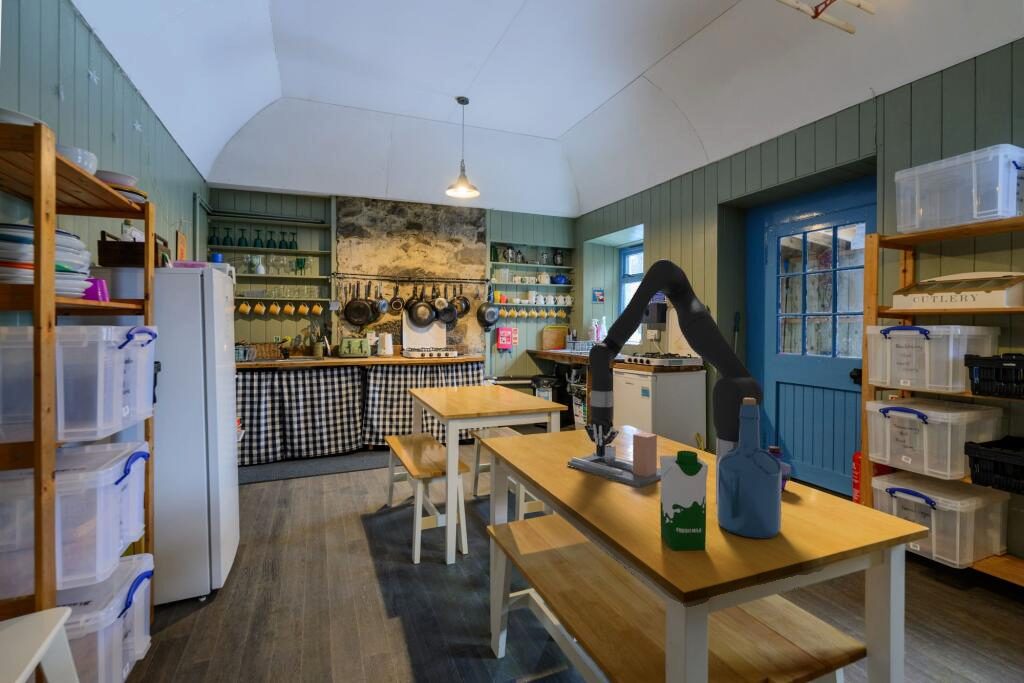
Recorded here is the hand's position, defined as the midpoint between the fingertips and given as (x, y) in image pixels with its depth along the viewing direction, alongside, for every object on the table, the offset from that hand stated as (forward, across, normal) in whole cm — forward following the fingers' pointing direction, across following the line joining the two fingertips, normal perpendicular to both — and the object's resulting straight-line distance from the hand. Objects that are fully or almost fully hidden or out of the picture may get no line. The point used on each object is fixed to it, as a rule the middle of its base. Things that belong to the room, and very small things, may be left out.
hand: (600, 455), depth 159 cm
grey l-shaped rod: (+2, -9, 0) cm, 9 cm away
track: (+3, -6, 0) cm, 7 cm away
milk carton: (+3, -47, +31) cm, 56 cm away
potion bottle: (+3, -46, -20) cm, 51 cm away
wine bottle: (+3, -53, +13) cm, 55 cm away
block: (+2, -17, 0) cm, 17 cm away
